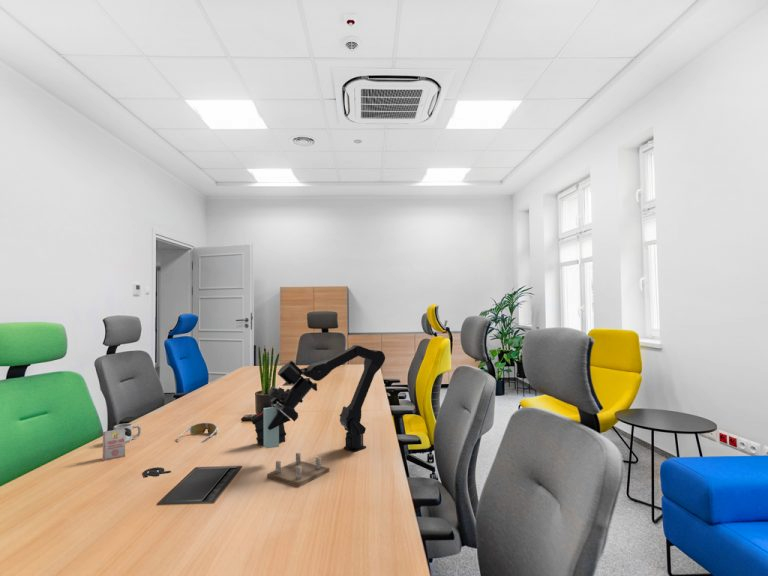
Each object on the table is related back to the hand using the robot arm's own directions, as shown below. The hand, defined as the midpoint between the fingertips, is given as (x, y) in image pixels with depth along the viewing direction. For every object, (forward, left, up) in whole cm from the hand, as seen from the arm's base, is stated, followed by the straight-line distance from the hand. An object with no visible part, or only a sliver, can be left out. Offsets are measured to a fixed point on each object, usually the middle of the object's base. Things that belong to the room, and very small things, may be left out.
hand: (267, 427), depth 150 cm
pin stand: (-1, +16, -13) cm, 21 cm away
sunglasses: (+2, -50, -13) cm, 52 cm away
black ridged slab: (-13, -21, -13) cm, 28 cm away
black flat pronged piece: (+28, -20, -13) cm, 36 cm away
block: (-1, 0, -7) cm, 7 cm away
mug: (+24, -70, -13) cm, 75 cm away
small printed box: (+34, -51, -13) cm, 62 cm away
